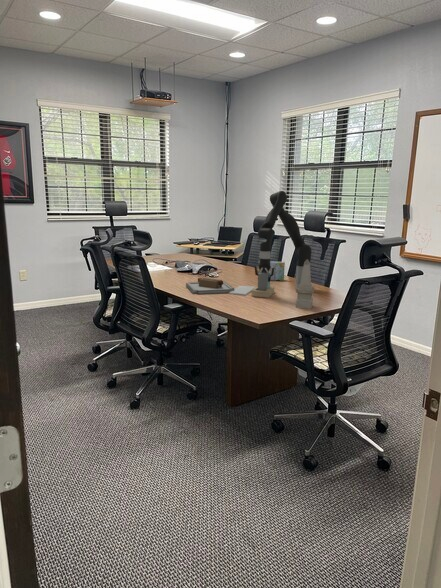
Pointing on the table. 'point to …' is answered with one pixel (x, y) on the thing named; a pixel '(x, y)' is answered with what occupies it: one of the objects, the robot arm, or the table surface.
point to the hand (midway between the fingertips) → (264, 281)
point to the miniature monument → (305, 288)
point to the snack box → (276, 270)
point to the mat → (242, 290)
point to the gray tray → (209, 286)
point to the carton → (263, 292)
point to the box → (263, 281)
